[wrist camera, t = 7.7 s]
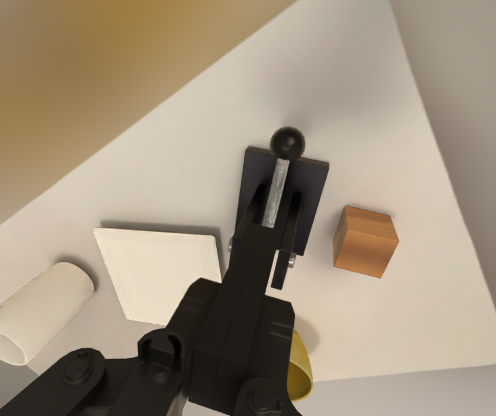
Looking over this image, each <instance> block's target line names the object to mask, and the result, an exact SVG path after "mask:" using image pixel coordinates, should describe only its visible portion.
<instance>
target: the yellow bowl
mask: <svg viewBox="0 0 496 416" xmlns="http://www.w3.org/2000/svg"><path fill="white" fill-rule="evenodd" d="M287 390H288V395H289V398H290V400H291V402H294V401H299V400H302V399H304V398H306V397H308V396H309V395H310V393H311V392H312V390H313V377H312V370H311V365H310V361H309V357H308V354H307V352H306V349H305V347H304V344H303V342H302V341H301V339H300V337H299V336H298V334H297V333H296V332H295V331H294V330H293V336H292V345H291V353H290V361H289V370H288V378H287Z"/></svg>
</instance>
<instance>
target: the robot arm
mask: <svg viewBox="0 0 496 416" xmlns="http://www.w3.org/2000/svg"><path fill="white" fill-rule="evenodd" d="M280 232H281V230H277V229H274V228H270V227H266V226H262V225H258V224H254V223H250V222H249V223H248V225H247V227H246V229H245V232H244V234H243V236H242V238H241V241H240V243H239V245H238V247H237V250H236V252H235V254H234V256H233V259H232V261H231V263H230V265H229V268H228V270H227V272H226V274H225V277H224V279H223V281H222V283H219V282H215V281H212V280H208V279H205V278H201V277H200V278H199V279H197V280H196V281H195V282H193V283H192V284H191V285H190V286H189V288H188V289H187V291H186V293H185V294H184V297H183V298H182V300H181V301H180V303H179V305H178V307H177V308H176V310H175V312H174V314H173V315H172V317H171V319H170V321H169V322H168V324H167V326H166V327H165V328H161V329H156V330H153V331H151V332H149V333H147V334H145V335H144V336H143V337H142V338H141V339H140V340H139V341H138V343H137V344H138V356H137V357H134V358H127V359H105V357H104V356H103V355H102V354H101V352H100V351H98V350H95V349H92V348H81V349H78V350H75V351H72V352H70V353H68V354H67V355H65V356H63V357H62V358H60V359H59V360H58V361H57V362H56V363H55V364H53V365H52V366H51V367H50V368H49V369H47V370H46V371H45V372H44V373H43V374H41V375H40V376H39V377H38V378H37V379H36V380H35V381H33V382H32V383H31V384H30V385H28V386H27V387H26V388H25V389H24V390H22V391H21V392H20V393H19V394H18V395H17V396H16V397H14V398H13V399H12V400H11V401H10V402H8V403H7V404H6V405H5V406H3V407H2V408H1V409H0V416H182V410H183V408H184V405H185V403H186V400H187V398H188V401H190V402H192V403H195V404H198V405H201V406H204V407H207V408H210V409H212V410H215V411H218V412H221V413H224V414H227V415H230V416H302V415H301V414H300V413H299V412H297V410H296V409H295V407H294V406H293V404H292V402H291V400H290V398H289V395H288V390H287V378H288V370H289V361H290V353H291V345H292V336H293V328H294V320H295V313H294V310H293V307H292V304H291V302H288V301H284V300H281V299H277V298H274V297H270V296H267V295H265V292H266V288H267V284H268V280H269V276H270V272H271V268H272V264H273V260H274V256H275V252H276V248H277V244H278V240H279V236H280ZM188 395H189V396H188Z"/></svg>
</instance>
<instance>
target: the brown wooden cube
mask: <svg viewBox="0 0 496 416" xmlns="http://www.w3.org/2000/svg"><path fill="white" fill-rule="evenodd" d="M398 243H399V239H398V236H397V234H396V231H395V228H394V225H393V222H392V220H391V217H390V216H388V215H384V214H379V213H375V212H370V211H366V210H362V209H357V208H353V207H348V206H345V207H344V210H343V213H342V216H341V219H340V222H339V225H338V227H337V230H336V233H335V236H334V239H333V262H334V267H337V268H341V269H345V270H349V271H353V272H357V273H361V274H365V275H369V276H373V277H377V278H381V277H382V275H383V273H384V271H385V269H386V267H387V265H388V263H389V261H390V259H391V257H392V255H393V253H394V251H395V249H396V247H397V245H398Z"/></svg>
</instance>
